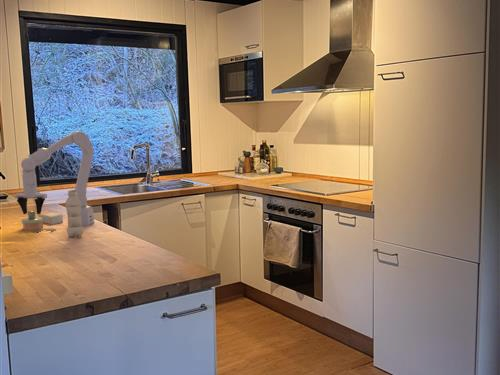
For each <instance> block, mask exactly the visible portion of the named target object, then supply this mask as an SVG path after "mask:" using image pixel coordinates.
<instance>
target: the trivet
mask: <svg viewBox="0 0 500 375" xmlns="http://www.w3.org/2000/svg"><path fill="white" fill-rule="evenodd" d="M43 230H46V231H51V232H50V234H51V233H54V231H55V232H56V231H57V229H56V228H41V229H36V230H32V233H33V232H36V233H39V232H41V231H43ZM36 233H35V234H36Z"/></svg>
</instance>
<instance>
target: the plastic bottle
mask: <svg viewBox="0 0 500 375" xmlns="http://www.w3.org/2000/svg"><path fill="white" fill-rule="evenodd" d="M67 195H68V197H67V199H66V200H65V204H64V205H65V209H66V214H67V229H66V230H67V231H66V234H67V236H68V237H69V238H75V237H76V238H79V236H80V237H81V236H83V234H84V228H83V225H82V224H81V216H80V215H81V201H80V199H79V198H78V197H77V190H75V189H71V190H68V191H67Z"/></svg>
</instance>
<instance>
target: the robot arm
mask: <svg viewBox="0 0 500 375" xmlns="http://www.w3.org/2000/svg"><path fill="white" fill-rule="evenodd" d="M68 145H69V146H70V145H71V146H72V145H76V146H77V147H78V148H79V149H80V150H81V152H82V155H81V160H80V163H79V164H80V165H79V168H78V174H77V178H76V184H75V187H74V190H77V197H78V198H79V199H80V201H81V215H80V216H81V224H82V227H83V226H86V227H87V226H89V225H92V224H94V223H95V216H94V208H93V206H91V205H88V203H87V202H88V197H87V187H88V182H89V177H90V171H91V166H92V162H93V156H94V152H95V151H94V150H95V149H94V148H93V147H94V146H93V145H92V142H91V140H90V138H89V136H88V134H86V133H85V132H83V131H82V130H75V131H73V132H72V133H68V134H67V135H65V136H62V137H61V138H60V139H58V140H57V141H56V142H54V143H52V144H51V145H50V146H49V147H48V146H47V148H45V147H41V148H37V150H36V151H35V152H33V153H32V154H28V155H27V157H24V159H22V160H21V163H20V166H21V168H22V170H21V174H22V186H23V187H22V188H23V193H21V192H20V193H14V199H17V200H16V202H17V203H18V205H19V206H20V209H21V211H22V214H23V215H28V199H34V203H35V205H36V206H35V207H36V214H37V215H39V214H41V213H42V208H43V205H44V203H45V200H46V199H47V198H48V193H39V192H38V186H37V185H38V184H37V174H36V167H37V166H38V167H39V166H40V165H42V164H43V163H45V162H46V161H48V160H49V159H51V157H52V154H53V153H55V152H57V151H59V150H60V149H62V148H64V147H65V146H68Z"/></svg>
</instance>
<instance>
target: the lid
mask: <svg viewBox="0 0 500 375" xmlns="http://www.w3.org/2000/svg"><path fill="white" fill-rule="evenodd" d="M20 221H21V224H22V225H23V224H33V223H39V222H42V221H43V218H41V217H39V216H36V211H35V210H29V211H28V210H27V217H25V218H22V219H21V220H20Z"/></svg>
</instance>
